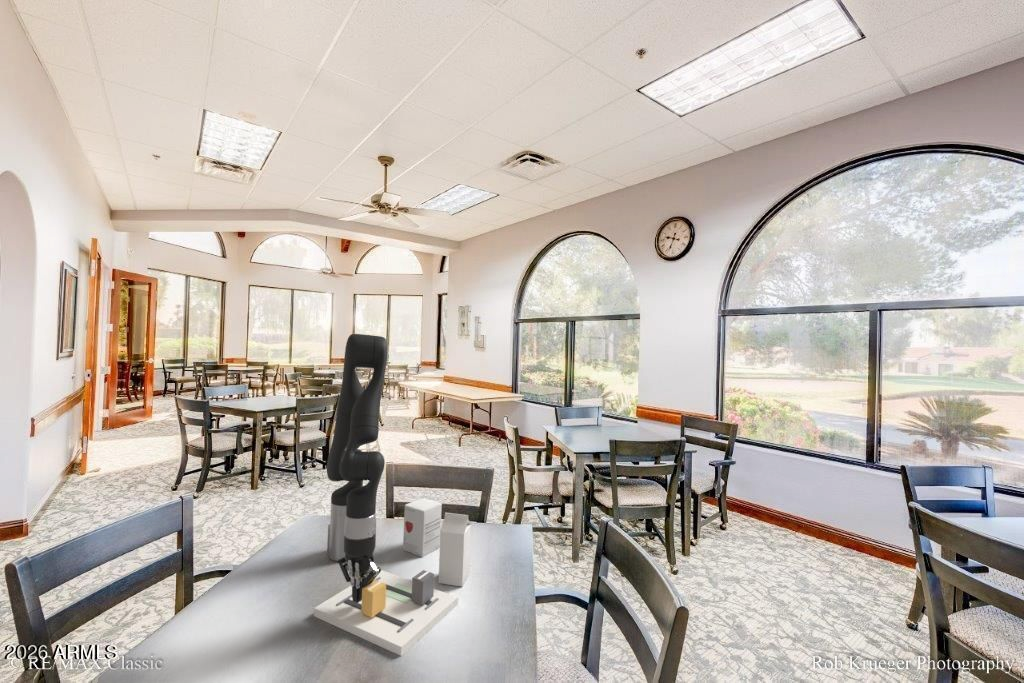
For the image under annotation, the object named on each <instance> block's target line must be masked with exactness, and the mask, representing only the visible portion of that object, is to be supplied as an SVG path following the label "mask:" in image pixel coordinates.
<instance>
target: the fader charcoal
mask: <svg viewBox="0 0 1024 683" xmlns="http://www.w3.org/2000/svg"><path fill="white" fill-rule="evenodd" d="M411 581H412V602H415V603H417V604H420V605H423V604H425V603H426V602H427V601H428V600H430V599H431V598H432V597H433V592H434V589H435V588H434V586H435V584H434V583H435V573H433V572H430V571H428V570H424V569H423V570H421V571H420V572H418V573H417V574H415V575H414V576H412V579H411Z"/></svg>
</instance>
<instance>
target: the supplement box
mask: <svg viewBox="0 0 1024 683" xmlns="http://www.w3.org/2000/svg"><path fill="white" fill-rule="evenodd" d="M442 506H443V504H442V502H438V501H435V500H432V499H429V498H424V497H421V498H419V499H416V500H413V501H411V502H408V503H406V504H405V505H404V514H403V515H404V516H403V520H404V521H403V542H402V544H403V545H402V550H403V551H406V552H407V553H410V554H411V553H412V554H413V555H416V556H418V557H421V558H424V557H425V556H427V555H428V554H431V553H432V552H434V551H435V550H437V549H440V531H441V527H442V512H443V511H442V508H443V507H442Z"/></svg>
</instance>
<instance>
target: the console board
mask: <svg viewBox="0 0 1024 683" xmlns="http://www.w3.org/2000/svg"><path fill="white" fill-rule="evenodd" d="M375 580H377V581H380V582H382V583H385V584H386V605H385V609H383V610H382V611H381V612H379V613H378V614H377V615H375V616H374V617H369V616H367V615H364V614H362V613H361V609H362V600H361V601H360V602H358V603H357V602H354V601H353V598H352V586H351V585H349V586H348V587H346V588H344V589H343V590H342V591H340V592H338V593H337V594H335V595H333V596H331V597H330V598H329V599H327V600H325V601H323V602H322V603H320V604H318V605H316V606H315V607H314V608H313V617H315V618H318V619H319V620H322V621H324V622H326V623H327V624H330V625H333V626H335V627H337V628H339V629H340V630H343V631H345V632H348V633H350V634H352V635H354V636H357V637H359V638H361V639H363V640H365V641H368V642H370V643H372V644H374V645H376V646H379V647H380V648H382V649H385V650H386V651H389V652H391V653H393V654H396V655H398V656H400V657H402V656H403V655H404V654H405V653H406V652H407V651H409V650H410V649H411V648H412V647H414V646H415V645H416V644H417V642H419V641H420V640H421V639H422V638H423V637H424V636H425V635H427V633H428V632H430V631H431V630H432V629H433V628H434V627H435V626H436V625H437V624H439V623H440V621H442V620H443V619H444V618H445V617H446V616H447V615H449V613H450V612H452V611H453V610H454V609H455V608H456V607H457V606H458V605H459V597H458V596H455V595H453V594H450V593H449V592H448V593H447V592H444V591H442V590H438V589H437V588H434V592H433V597H432V598H431V599H430V600H428V601H427V602H426V603H425V604H423V605H420V604H417V603H415V602H412V579H408V578H405V577H402V576H400V575H396V574H393V573H390V572H387V571H385V570H382V569H381V572H380V573H379V574H378V575H377V577H376V578H375V579H374V580H373V581H375Z"/></svg>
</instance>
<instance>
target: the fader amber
mask: <svg viewBox="0 0 1024 683" xmlns="http://www.w3.org/2000/svg"><path fill="white" fill-rule="evenodd" d="M385 605H386V584H385V583H382V582H380V581H377V580H375V581H373V582H372V583H370V584H369V585H367V586H365V587H364V588H362V609H361V613H362V614H364V615H367V616H369V617H374V616H375V615H377V614H378V613H379V612H381V611H382V610H383V609H385Z"/></svg>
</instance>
